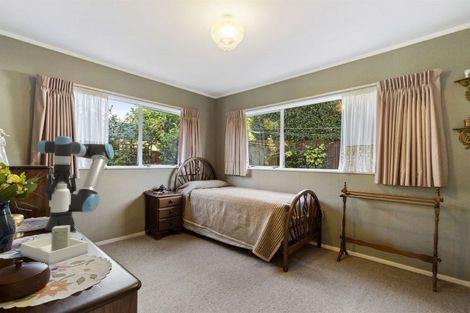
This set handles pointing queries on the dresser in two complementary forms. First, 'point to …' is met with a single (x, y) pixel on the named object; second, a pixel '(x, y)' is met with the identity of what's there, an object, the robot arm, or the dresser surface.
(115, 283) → the dresser surface
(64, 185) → the pill bottle
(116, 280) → the dresser surface
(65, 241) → the skincare box
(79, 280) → the dresser surface
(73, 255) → the tray
